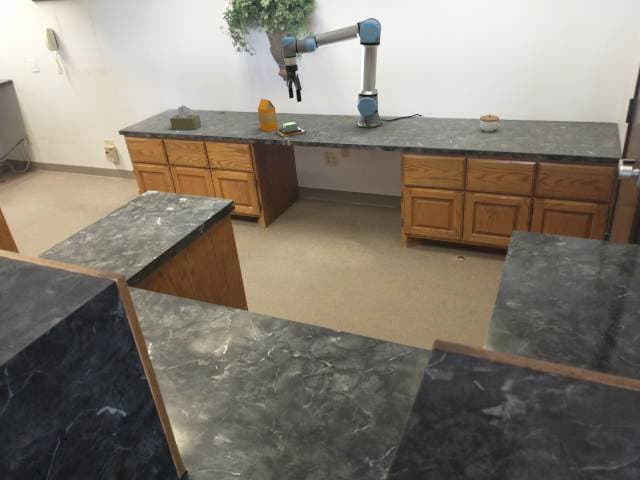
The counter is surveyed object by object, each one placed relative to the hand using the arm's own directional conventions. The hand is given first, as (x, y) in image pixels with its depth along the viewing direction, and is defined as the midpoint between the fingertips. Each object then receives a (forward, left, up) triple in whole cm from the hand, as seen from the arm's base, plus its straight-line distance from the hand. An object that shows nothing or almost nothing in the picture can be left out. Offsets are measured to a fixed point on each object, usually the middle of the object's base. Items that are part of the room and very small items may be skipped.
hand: (295, 99), depth 318 cm
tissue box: (+60, -67, -22) cm, 92 cm away
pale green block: (+4, -5, -20) cm, 21 cm away
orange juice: (+13, -22, -22) cm, 33 cm away
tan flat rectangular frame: (+4, -5, -21) cm, 22 cm away
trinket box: (-94, +69, -22) cm, 119 cm away
